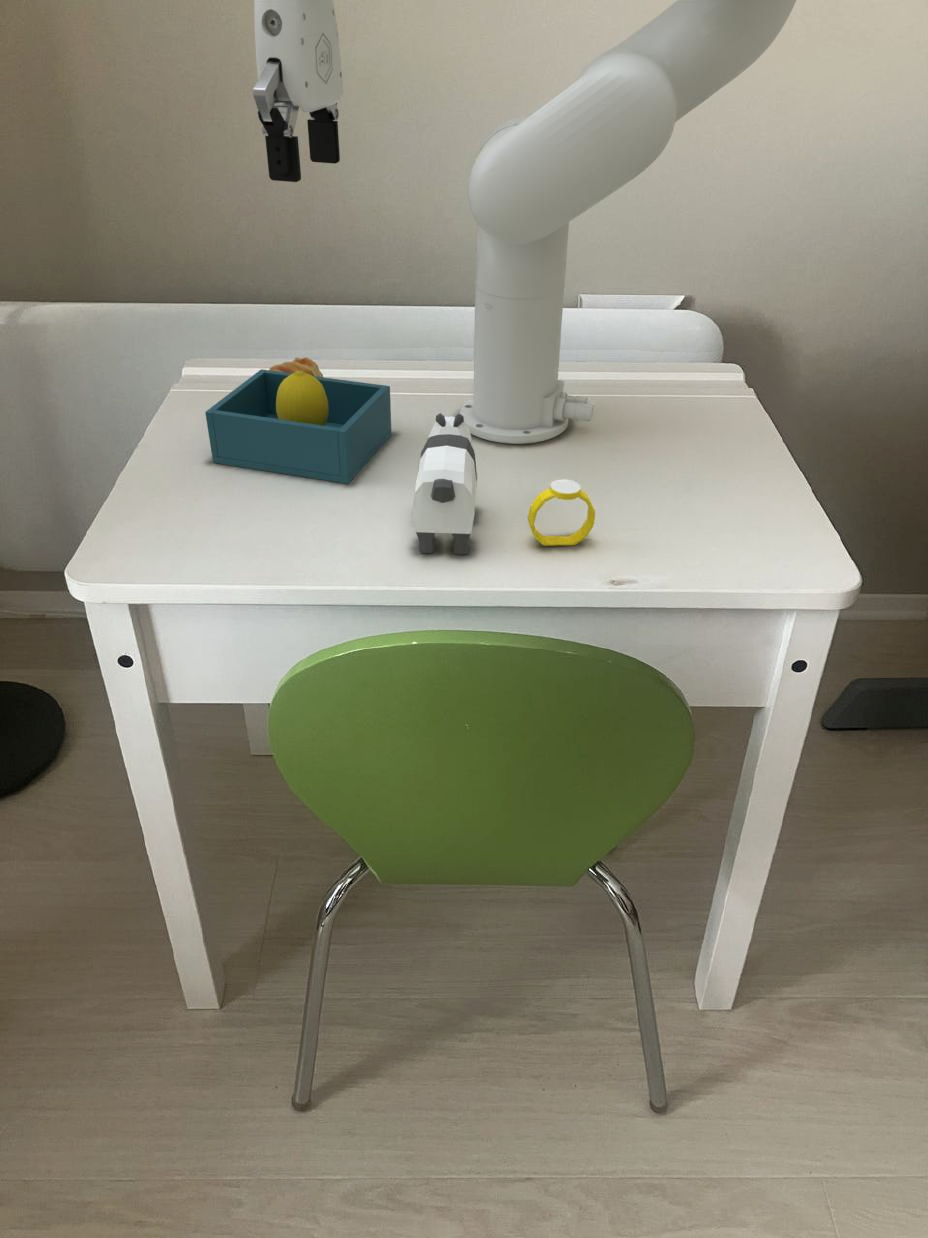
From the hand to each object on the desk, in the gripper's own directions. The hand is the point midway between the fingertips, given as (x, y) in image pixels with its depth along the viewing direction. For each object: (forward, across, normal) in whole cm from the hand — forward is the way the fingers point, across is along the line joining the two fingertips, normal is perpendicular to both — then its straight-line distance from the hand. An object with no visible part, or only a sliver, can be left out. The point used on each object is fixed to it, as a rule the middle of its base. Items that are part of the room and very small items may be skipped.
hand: (306, 170), depth 99 cm
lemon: (+26, -10, -2) cm, 28 cm away
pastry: (+26, +3, +6) cm, 27 cm away
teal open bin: (+26, -10, -2) cm, 28 cm away
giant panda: (+26, -21, -22) cm, 40 cm away
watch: (+26, -21, -33) cm, 47 cm away
